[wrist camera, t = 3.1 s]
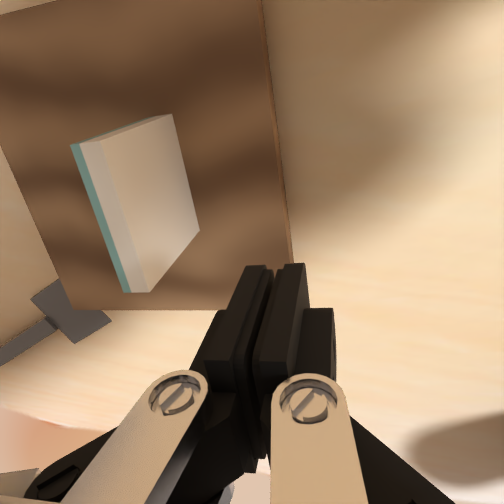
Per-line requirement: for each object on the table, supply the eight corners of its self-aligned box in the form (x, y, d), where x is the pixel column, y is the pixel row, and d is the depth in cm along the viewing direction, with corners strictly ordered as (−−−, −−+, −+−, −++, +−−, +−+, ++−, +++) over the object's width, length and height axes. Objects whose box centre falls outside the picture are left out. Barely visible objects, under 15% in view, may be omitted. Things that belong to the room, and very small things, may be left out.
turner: (-32, 343, 41) (-40, 349, 40) (87, 257, 34) (81, 262, 33) (9, 381, 43) (3, 388, 42) (132, 307, 35) (127, 313, 34)
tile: (149, 117, 24) (69, 144, 17) (172, 113, 24) (100, 140, 17) (179, 231, 28) (123, 292, 21) (199, 230, 27) (149, 292, 20)
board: (-32, 29, 26) (-52, 28, 24) (256, -44, 20) (249, -50, 19) (83, 300, 35) (73, 310, 34) (298, 299, 30) (296, 310, 29)
